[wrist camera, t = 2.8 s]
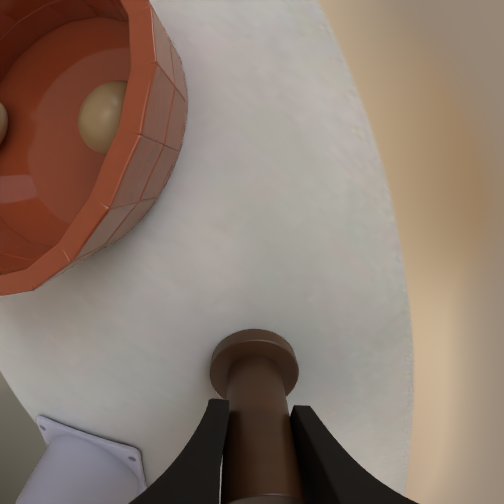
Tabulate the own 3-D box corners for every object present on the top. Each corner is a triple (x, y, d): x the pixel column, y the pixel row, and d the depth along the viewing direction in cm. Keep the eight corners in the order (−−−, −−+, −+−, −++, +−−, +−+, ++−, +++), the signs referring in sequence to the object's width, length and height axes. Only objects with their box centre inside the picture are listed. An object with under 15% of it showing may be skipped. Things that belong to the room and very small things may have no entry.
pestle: (285, 398, 14) (311, 532, 6) (208, 390, 14) (190, 529, 6) (303, 333, 13) (356, 475, 6) (215, 323, 13) (191, 473, 5)
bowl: (167, 277, 13) (128, 332, 8) (-23, 240, 12) (-82, 262, 7) (212, 4, 10) (200, -65, 5) (9, 34, 9) (-42, 9, 4)
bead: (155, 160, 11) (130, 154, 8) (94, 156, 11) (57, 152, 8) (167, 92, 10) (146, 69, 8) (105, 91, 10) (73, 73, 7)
